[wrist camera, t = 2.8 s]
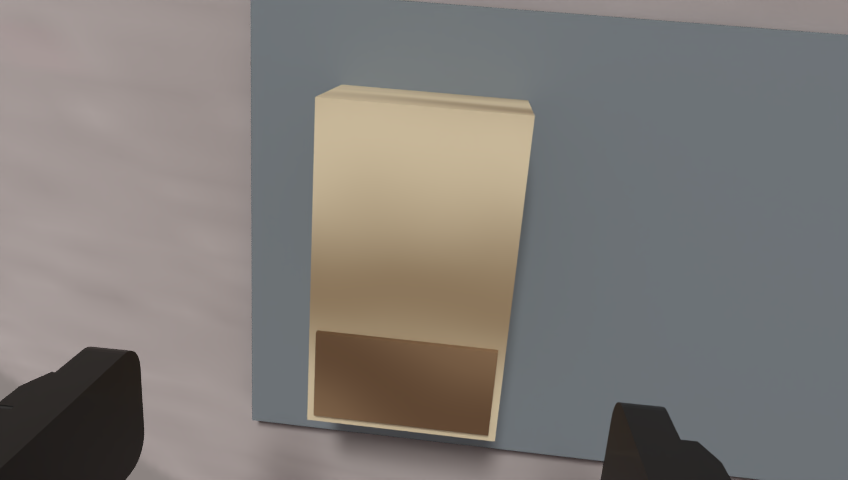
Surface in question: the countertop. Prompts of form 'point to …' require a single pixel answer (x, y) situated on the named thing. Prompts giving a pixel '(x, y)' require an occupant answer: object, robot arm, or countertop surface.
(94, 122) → the countertop surface
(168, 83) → the countertop surface
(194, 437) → the countertop surface
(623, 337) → the mat
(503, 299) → the card box
